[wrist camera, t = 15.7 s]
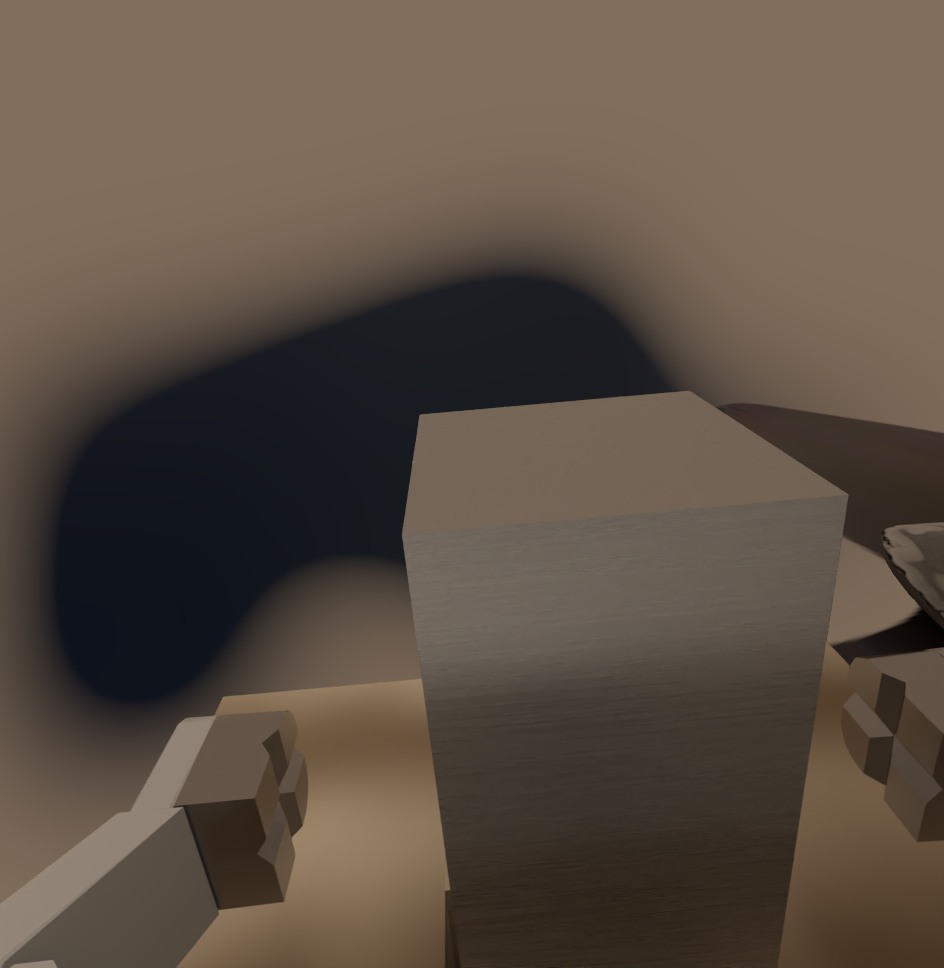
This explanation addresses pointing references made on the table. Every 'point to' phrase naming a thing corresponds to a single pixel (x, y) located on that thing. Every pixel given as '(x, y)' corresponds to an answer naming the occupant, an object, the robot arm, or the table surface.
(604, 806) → the square bit
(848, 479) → the table surface
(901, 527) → the brain slice
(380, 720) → the socket block
